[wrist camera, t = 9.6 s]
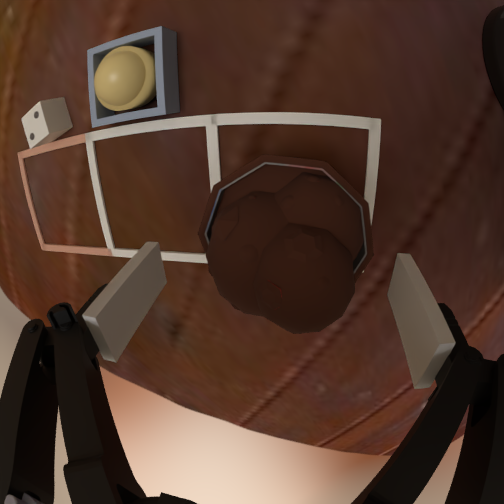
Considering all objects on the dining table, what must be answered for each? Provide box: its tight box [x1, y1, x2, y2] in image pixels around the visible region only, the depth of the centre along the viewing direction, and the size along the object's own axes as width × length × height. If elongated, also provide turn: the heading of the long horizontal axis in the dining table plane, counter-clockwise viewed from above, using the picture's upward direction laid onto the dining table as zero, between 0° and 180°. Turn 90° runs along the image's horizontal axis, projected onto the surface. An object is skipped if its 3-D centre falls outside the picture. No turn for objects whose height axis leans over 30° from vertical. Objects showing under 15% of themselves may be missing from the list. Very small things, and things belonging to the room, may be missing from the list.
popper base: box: [87, 26, 180, 128], centre depth 21 cm, size 8×8×3 cm
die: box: [22, 97, 73, 149], centre depth 24 cm, size 4×4×4 cm
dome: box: [94, 46, 157, 111], centre depth 20 cm, size 6×6×5 cm
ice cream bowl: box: [198, 155, 374, 334], centre depth 19 cm, size 11×11×15 cm
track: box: [18, 112, 381, 272], centre depth 28 cm, size 15×43×1 cm, turn 91°
